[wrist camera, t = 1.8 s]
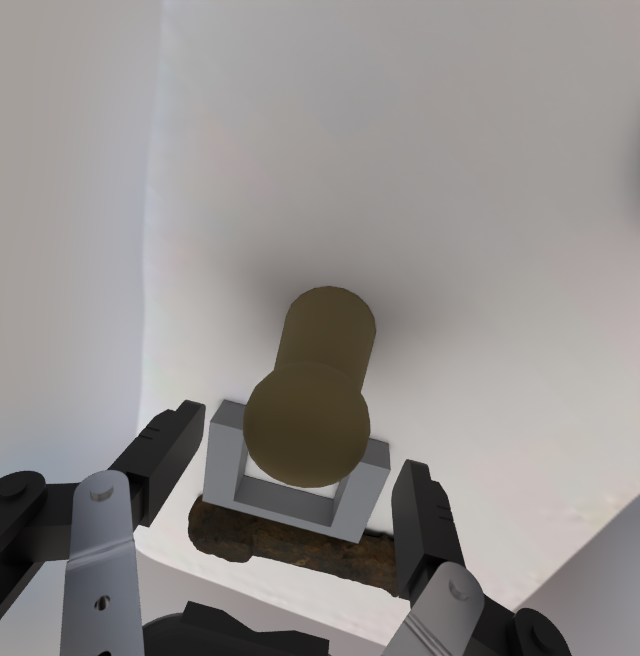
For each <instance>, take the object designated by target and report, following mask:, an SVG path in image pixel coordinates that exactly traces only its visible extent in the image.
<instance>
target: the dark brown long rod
mask: <svg viewBox="0 0 640 656" xmlns="http://www.w3.org/2000/svg"><path fill="white" fill-rule="evenodd" d="M202 499H203V496H199V497H198V498H197V499H196V501H195V502H194V504H193V506H192V508H191V510H190V513H189V516H188V521H189V526H188V534H189V538H190V541H192V542H193V545H194V546H195V547H196V549H197V550H199V551H201V552H203V553H206V554H213V555H215V556H217V557H219V558H223V559H225V560H227V561H229V562H238V563H244V562H247V561H249V559H250V558H251V557H252V556H257V557H264V558H268V559H273V560H276V561H280V562H284V563H287V564H292V565H295V566H299V567H303V568H307V569H311V570H315V571H319V572H324V573H328V574H331V575H335V576H337V577H339V578H342V579H349V580H352V581H357V582H360V583H362V584H364V585H370V586H373V587H378V588H382V589H384V590H386V591H387V592H389V593H390V594H391V595H392V596H393V597H397V596H398V582H397V569H396V556H395V543H394V541H390V540H389V539H388V538H387V537H386V536H385V535H382V536H381V537H380V538H375V537H371V536H366V535H362V536H361V538H360V541H359V543H354V542H350V541H347V540H343V539H339V538H336V537H332V536H328V535H325V534H321V533H317V532H314V531H310V530H307V529H303V528H299V527H296V526H292V525H288V524H285V523H281V522H277V521H274V520H270V519H266V518H263V517H259V516H255V515H252V514H248V513H244V512H241V511H237V510H233V509H230V508H226V507H223V506H219V505H215V504H212V503H208V502H204V501H202Z"/></svg>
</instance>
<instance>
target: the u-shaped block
mask: <svg viewBox="0 0 640 656" xmlns="http://www.w3.org/2000/svg"><path fill="white" fill-rule="evenodd" d="M245 407H246V406H244V405H241V404H237V403H233V402H229V401H226V400H224V401H223V402H222V404H221V405H220V407H219V408H218V410H217V412H216V413H215V415H214V416H213V418H212V419H211V421H210V428H209V438H208V448H207V458H206V468H205V478H204V488H203V499H202V501H204V502H208V503H212V504H215V505H219V506H223V507H226V508H230V509H233V510H237V511H241V512H244V513H248V514H252V515H255V516H259V517H263V518H266V519H270V520H274V521H277V522H281V523H285V524H288V525H292V526H296V527H299V528H303V529H307V530H310V531H314V532H317V533H321V534H325V535H328V536H332V537H336V538H339V539H343V540H347V541H350V542H354V543H359V541H360V538H361V536H362V534H363V532H364V529H365V527H366V525H367V522H368V520H369V518H370V516H371V513H372V511H373V509H374V507H375V504H376V502H377V500H378V498H379V495H380V493H381V491H382V489H383V486H384V484H385V482H386V479H387V477H388V475H389V473H390V470H391V468H390V454H389V444H387V443H384V442H380V441H376V440H372V439H369V440H368V444H367V448H366V451H365V454H364V457H363V458H362V459H361V461H360V462H359V463H358V465H357V466H356V468H355V469H354V470H353V471H352V472H351V473H350V474H349V475H348V476H346V477H344V478H343V479H341V481H340V484H339V486H338V489H337V492H336V495H335V498H334V500H332V499H328V498H325V497H321V496H317V495H314V494H310V493H306V492H302V491H299V490H295V489H291V488H288V487H284V486H280V485H277V484H273V483H269V482H266V481H262V480H258V479H255V478H251V477H247V476H244V471H245V465H246V460H247V454H248V448H247V446H246V443H245V440H244V436H243V416H244V409H245Z"/></svg>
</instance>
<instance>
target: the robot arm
mask: <svg viewBox="0 0 640 656" xmlns="http://www.w3.org/2000/svg"><path fill="white" fill-rule="evenodd" d="M205 410H206V406H205V404H201V403H197V402H194V401H190V400H185V401H184V402H183V403H182V404H181V405H180V406H179V408H178V409H177V410H176V411H173V410H169V409H167V410H166V411H164V412H162V413H160V414H158V415H157V416H155V417H154V418H153V419H152V420H151V421H150V423H149V424H148V425H147V426H146V428H144V429H143V430H142V432H141V433H140V434H139V436H138V437H136V438H135V439H134V440H133V442H132V443H131V444H130V445H129V446H128V447H127V448H126V449H125V451H124V452H123V453H122V454H121V455H120V456H119V457H118V458H117V459H116V461H115V462H114V463H113V464H112V465H111V466H110V467H109V468H108V469H107V470H105V471H100V472H97V473H94V474H92V475H90V476H88V477H87V478H86V479H84V480H83V481H82V482H80V483H68V484H67V483H66V484H46V482H45V479H44V477H43V476H42V475H41V474H40V473H38V472H35V471H20V472H15V473H12V474H9V475H6V476H4V477H2V478H0V619H1V618H2V617H3V616H4V614H5V613H6V612H7V610H8V609H9V608H10V607H11V605H12V604H13V603H14V601H15V600H16V599H17V597H18V596H19V595H20V594H21V592H22V591H23V590H24V588H25V587H26V586H27V585H28V583H29V582H30V580H31V579H32V578H33V577H34V575H35V574H36V573H37V572H38V570H39V569H40V568H41V566H42V565H43V564H44V563H45V561H56V560H66V559H69V561H68V562H67V565H66V571H65V585H64V600H63V613H62V628H61V643H60V656H331V655H330V654H328V650H329V640H327V639H323V638H320V637H316V636H313V635H309V634H305V633H301V632H298V631H295V630H293V631H274V632H255V631H253V630H251V629H250V628H248V627H247V626H245V625H244V624H242V623H241V622H239V621H238V620H236V619H235V618H233V617H232V616H230V615H229V614H227V613H226V612H224V611H223V610H219V609H216V608H213V607H209V606H205V605H202V604H198V603H195V602H191V601H188V603H187V605H186V607H185V610H184V612H183V613H175V614H170V615H166V616H163V617H160V618H157V619H155V620H153V621H151V622H148V623H147V624H145V625H144V626H142V619H141V608H140V597H139V586H138V574H137V562H136V551H135V541H134V537H133V532H134V531H135V529H136V528H137V526H138V525H142V526H145V527H150V525H151V523H152V522H153V520H154V519H155V517H156V515H157V514H158V512H159V511H160V509H161V507H162V506H163V504H164V503H165V501H166V499H167V498H168V496H169V495H170V493H171V491H172V490H173V488H174V487H175V485H176V483H177V482H178V480H179V479H180V477H181V475H182V474H183V472H184V471H185V469H186V468H187V466H188V464H189V463H190V461H191V460H192V458H193V456H194V455H195V453H196V452H197V450H198V448H199V446H200V443H201V441H202V437H203V430H204V420H205ZM391 505H392V518H393V531H394V543H395V556H396V569H397V582H398V595H399V598H402V599H405V600H409V601H410V607H411V611H410V612H409V614H408V615H407V616H406V618H405V619H404V621H403V622H402V624H401V625H400V627H399V628H398V630H397V631H396V633H395V635H394V636H393V638H392V639H391V641H390V642H389V644H388V645H387V647H386V648H385V650H384V651H383V653H382V655H381V656H572V655H571V653H570V650H569V648H568V645H567V643H566V641H565V639H564V637H563V636H562V634H561V633H560V631H559V630H558V629H557V628H556V627H555V625H554V624H553V623H552V622H551V621H550V620H549V619H548V618H547V617H545V616H544V615H542V614H541V613H539V612H538V611H536V610H533V609H530V608H522V609H520V610H519V611H518V612H517V613H516V614H515V613H513V612H511V611H510V610H508V609H507V608H505V607H503V606H502V605H500V604H498V603H497V602H495V601H494V600H492V599H490V598H489V597H488V596H486V595H485V594H484V593H483V591H482V588H481V586H480V584H479V583H478V581H477V580H476V578H475V577H474V576H473V575H472V574H471V573H470V572H469V571H468V570H467V569H466V566H465V562H464V558H463V555H462V551H461V547H460V543H459V539H458V535H457V531H456V527H455V523H453V521H454V520H453V516H452V512H451V511H450V510H451V508H450V504H449V500H448V496H447V494H446V493H445V491H444V489H443V488H442V486H441V485H440V483H439V482H436V481H433V480H431V477H430V472H429V468H428V465H427V464H424V463H421V462H417V461H413V460H409V459H407V460H406V461H405V463H404V465H403V467H402V469H401V471H400V474H399V476H398V478H397V480H396V483H395V485H394V487H393V491H392V498H391Z"/></svg>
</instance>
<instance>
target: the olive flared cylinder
mask: <svg viewBox="0 0 640 656" xmlns="http://www.w3.org/2000/svg"><path fill="white" fill-rule="evenodd" d="M375 334H376V327H375V320H374V316H373V314H372V313H371V311H370V309H369V307H368V305H367V304H366V303H365V302H364V301H363V300H362V299H361V298H360V297H359V296H358V295H356V294H354V293H352V292H350V291H348V290H346V289H344V288H337V287H331V286H326V287H320V288H314V289H312V290H310V291H308V292H306V293H304V294H302V295H300V296H299V297H298V298H297V299H296V300H295V302H294V303H293V304H292V305H291V307H290V309H289V311H288V313H287V316H286V319H285V324H284V328H283V332H282V337H281V341H280V345H279V350H278V354H277V358H276V363H275V367H274V370H273V371H272V372H271V373H270V374H269V375H267V376H266V377H265V378H264V379H263V380H262V381H261V382H260V383H259V384H258V385H257V386H256V387H255V389H254V391H253V392H252V394H251V396H250V398H249V400H248V403H247V405H246V407H245V409H244V416H243V436H244V440H245V443H246V446H247V448H248V451H249V454H250V456H251V458H252V459H253V460H254V462H255V463H256V464H257V465H258V467H259V468H260V469H261V470H263V471H264V472H265V473H267V474H268V475H269V476H271V477H272V478H274V479H276V480H278V481H281V482H283V483H285V484H287V485H292V486H297V487H302V488H319V487H324V486H328V485H331V484H334V483H337V482H338V481H340V480H341V479H343V478H344V477H346V476H348V475H349V474H350V473H351V472H352V471H353V470H354V469H355V468H356V466H357V465H358V463H359V462H360V461H361V459H362V458H363V457H364V454H365V451H366V448H367V444H368V440H369V436H370V419H369V413H368V407H367V404H366V402H365V399H364V397H363V396H362V394H361V389H362V386H363V382H364V378H365V374H366V370H367V366H368V363H369V359H370V355H371V351H372V347H373V343H374V339H375Z"/></svg>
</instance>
